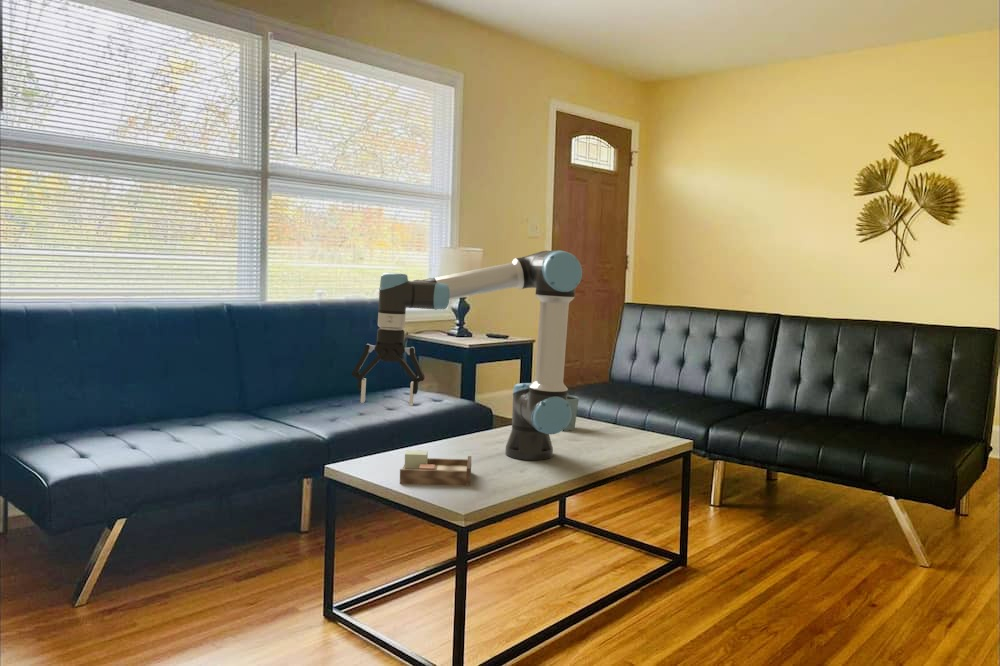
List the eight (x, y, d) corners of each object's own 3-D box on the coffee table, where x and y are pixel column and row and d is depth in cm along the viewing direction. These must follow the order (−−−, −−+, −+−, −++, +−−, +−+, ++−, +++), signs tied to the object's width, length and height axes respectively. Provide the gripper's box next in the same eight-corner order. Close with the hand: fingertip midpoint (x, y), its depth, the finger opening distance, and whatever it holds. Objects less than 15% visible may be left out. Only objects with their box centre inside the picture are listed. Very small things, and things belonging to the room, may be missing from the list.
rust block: (434, 478, 215) (434, 464, 215) (433, 482, 211) (433, 468, 211) (420, 478, 215) (420, 464, 214) (418, 482, 211) (419, 467, 210)
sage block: (427, 464, 220) (427, 451, 220) (426, 468, 216) (426, 454, 216) (406, 464, 220) (406, 450, 220) (404, 468, 216) (404, 454, 215)
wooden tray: (470, 473, 222) (471, 456, 222) (469, 486, 209) (470, 468, 209) (404, 471, 222) (405, 454, 221) (399, 484, 209) (400, 466, 209)
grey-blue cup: (546, 426, 289) (547, 394, 288) (571, 425, 292) (572, 393, 291) (556, 432, 280) (557, 399, 279) (581, 431, 283) (583, 398, 282)
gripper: (343, 326, 211) (339, 402, 213) (434, 332, 211) (429, 409, 213) (349, 324, 219) (345, 398, 221) (436, 330, 219) (432, 404, 221)
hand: (386, 403), depth 217 cm, fingers open, 13 cm apart
